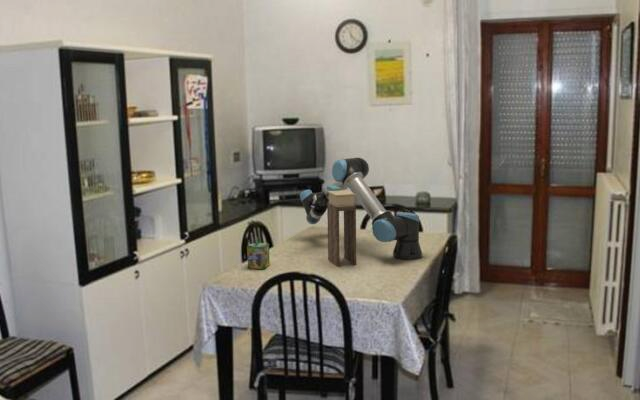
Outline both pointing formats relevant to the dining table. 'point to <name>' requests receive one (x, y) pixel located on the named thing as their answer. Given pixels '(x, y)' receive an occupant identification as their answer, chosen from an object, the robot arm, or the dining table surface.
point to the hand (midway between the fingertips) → (327, 196)
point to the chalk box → (258, 255)
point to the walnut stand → (348, 233)
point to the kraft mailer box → (341, 200)
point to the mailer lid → (338, 191)
